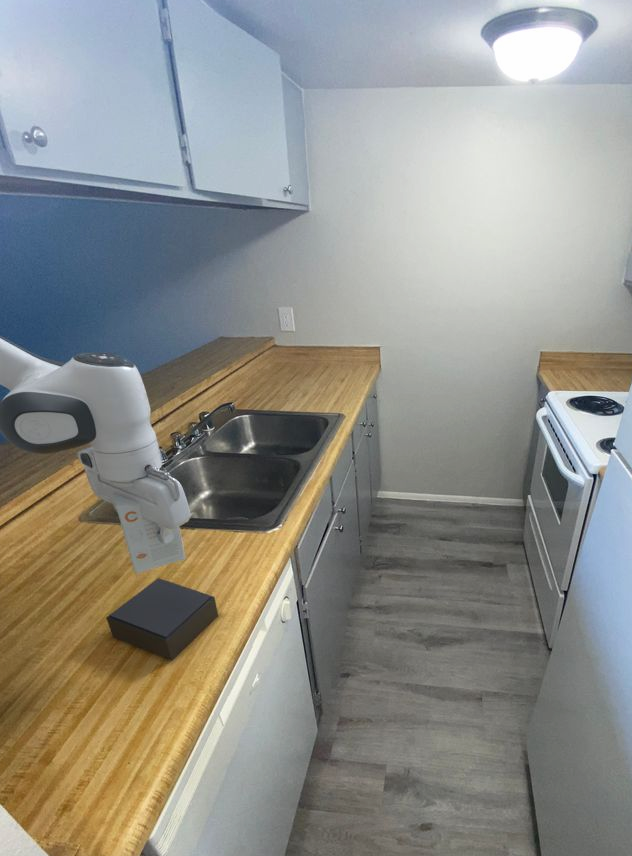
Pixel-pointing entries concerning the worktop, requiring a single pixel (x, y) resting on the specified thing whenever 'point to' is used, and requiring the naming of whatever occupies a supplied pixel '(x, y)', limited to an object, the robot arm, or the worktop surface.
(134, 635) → the dark gray box
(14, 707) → the worktop surface
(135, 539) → the small box
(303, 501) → the worktop surface
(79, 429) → the robot arm
